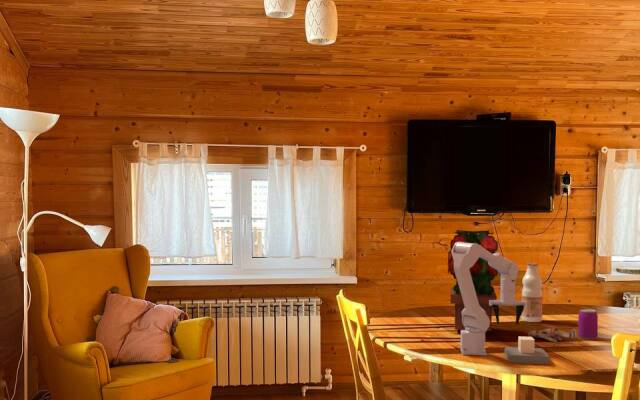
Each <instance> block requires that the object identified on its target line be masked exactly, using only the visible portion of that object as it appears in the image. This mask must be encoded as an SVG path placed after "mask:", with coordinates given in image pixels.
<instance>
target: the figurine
mask: <svg viewBox="0 0 640 400" xmlns="http://www.w3.org/2000/svg"><path fill="white" fill-rule="evenodd" d="M527 335H528V336H527V337H532V338H533V339H535V338H537V339H539V338H540V339H541V338H542V339H544V340H547V341H549V342H553V343H554V344H555V343H557V342H558V341H562V338H566V339H571V340H572V339H574V338H577V335H578V333H577V329H576V328H573V329H569V333H568V332H564V331H561V330H559V329H558V328H557V327H555V328H552V327H550V328H546V327H545V328H542V329H541V330H539V331H538V330H536V329H532V328H531V329H529V330H528V331H527ZM561 337H562V338H561Z"/></svg>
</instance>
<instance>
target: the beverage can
mask: <svg viewBox="0 0 640 400" xmlns="http://www.w3.org/2000/svg"><path fill="white" fill-rule="evenodd" d="M598 316H599V315H598V312H597V311H596V310H595V309H593V308H581V309H580V310H579V313H578V321H577V324H578V325H577V326H578V328H577V329H578V330H577V332H578V333H577V335H578V336H579V338H580V339H583V340H589V341H590V340H591V341H592V340H596V339H597V338H598V335H599V334H598V330H599V328H598V327H599V326H598V325H599V323H598V321H599V317H598Z"/></svg>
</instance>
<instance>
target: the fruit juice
mask: <svg viewBox="0 0 640 400" xmlns="http://www.w3.org/2000/svg"><path fill="white" fill-rule="evenodd" d="M526 266H527V268H526V272H525V274H524V276H523V277H522V281H521V283H522V285H523V286H522V289H521V301H526V307H524V310H523V312H522V314H521V320H522V321H523V322H527V323H540V322H542V320H543V290H542V285H543V279H542V278H541V276H540V273H539V270H538V263H537V262H527V263H526Z"/></svg>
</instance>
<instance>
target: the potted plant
mask: <svg viewBox="0 0 640 400" xmlns="http://www.w3.org/2000/svg"><path fill="white" fill-rule="evenodd" d="M454 234H456V235H454V236H453V239H451V240H450V246H449V247H450V251H448V252H447V255H448V256H447V275H449V274H450V276H453V279H454V280H456V282H455V284H454V285H453V287H450V304H454V330H458V332H459V334H461V330H466V329H465V326H464V325H463V323H462V313H461V312H462V311H463V309H464V308H465V306H464V302H463V299H462V295H461V292H460V288H459V285H458V281H457V278H456V274H455V271H454V259H453V256H452V252H451V251H452V249H453V246H454V244H455V243H456V242H464V243H477V244H478V245H481V246H482V247H483V248H484V249H486V250H487V251H489V252H490V253H492V254H494V253H496V252H497V251H498V250H499V243H498V241H497V240H496V239H495V237H494V236H493V234H494V232H490V230H489V229H488V230H475V231H474V230H463V229H456V231H455V232H454ZM469 270H470V274H471V277H472V281H473V285H474V288H475V292H476V295H477V299H478V303H479V306H480V307H481V308H482V309H484V310H485V312H486V315H487V316H488V317H489V319H490V325H489V328H488V329H487V331H485V335H487V332H492V318H493V312H492V310H493V308H492V306H490V305H489V300H498V297H497V294H496V291H495V289H494V286H492V285H491V284H492V283H491V282H492V281H493V280H494V279H495V277H498V274H499V272H498V270H496V269H495V268H493V267H491V266H490V265H489V264H488V261H486V260H484V259H482V258H480V257H479V258H478V260H477V261H476V262H475V264H474V265H473V266H472V267H471V268H470V269H469ZM499 276H501V274H499Z"/></svg>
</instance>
